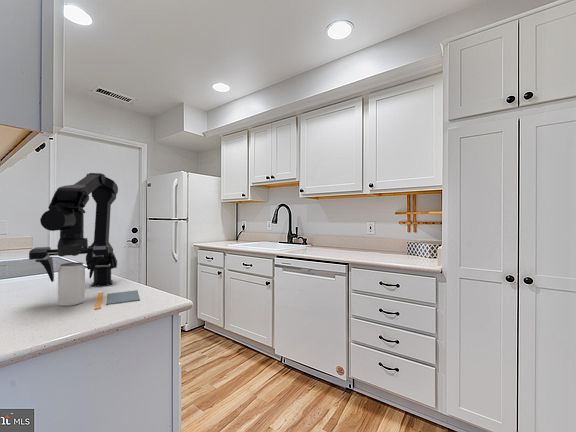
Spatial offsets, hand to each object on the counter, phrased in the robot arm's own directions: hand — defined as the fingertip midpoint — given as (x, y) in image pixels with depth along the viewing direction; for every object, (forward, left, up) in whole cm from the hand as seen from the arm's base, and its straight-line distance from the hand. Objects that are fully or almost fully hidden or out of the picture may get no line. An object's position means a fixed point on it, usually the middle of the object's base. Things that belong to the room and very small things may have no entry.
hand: (72, 279), depth 86 cm
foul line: (+1, +7, -7) cm, 10 cm away
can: (0, 0, -7) cm, 7 cm away
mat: (+1, +13, -7) cm, 15 cm away
